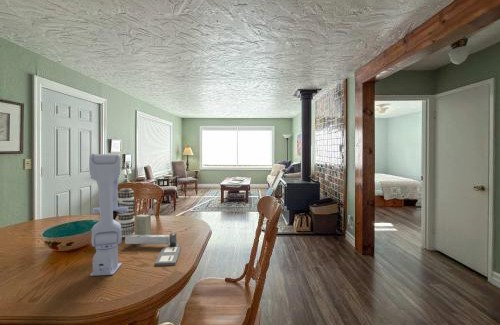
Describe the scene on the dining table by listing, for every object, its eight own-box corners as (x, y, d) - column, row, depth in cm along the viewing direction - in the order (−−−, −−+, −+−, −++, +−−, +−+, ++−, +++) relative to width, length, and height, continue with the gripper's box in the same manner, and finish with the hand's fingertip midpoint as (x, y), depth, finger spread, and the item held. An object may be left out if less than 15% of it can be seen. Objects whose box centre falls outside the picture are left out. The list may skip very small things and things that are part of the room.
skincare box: (151, 238, 138) (151, 214, 138) (146, 240, 134) (146, 216, 134) (141, 236, 140) (140, 213, 140) (135, 239, 136) (135, 215, 135)
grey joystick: (177, 248, 123) (177, 235, 123) (166, 248, 123) (166, 236, 122) (179, 244, 128) (179, 232, 128) (168, 245, 128) (168, 232, 127)
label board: (175, 264, 105) (175, 261, 105) (154, 265, 104) (154, 262, 104) (180, 248, 123) (180, 245, 123) (163, 249, 122) (163, 246, 122)
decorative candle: (138, 232, 148) (138, 187, 147) (129, 237, 138) (129, 190, 138) (123, 231, 149) (122, 187, 148) (113, 237, 139) (112, 189, 138)
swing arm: (125, 243, 124) (125, 236, 124) (128, 241, 127) (128, 234, 127) (167, 244, 124) (167, 236, 124) (169, 242, 127) (169, 234, 127)
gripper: (130, 196, 124) (130, 225, 124) (97, 196, 122) (97, 226, 123) (125, 198, 117) (125, 229, 117) (90, 199, 115) (90, 230, 116)
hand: (110, 227), depth 120 cm, fingers closed
